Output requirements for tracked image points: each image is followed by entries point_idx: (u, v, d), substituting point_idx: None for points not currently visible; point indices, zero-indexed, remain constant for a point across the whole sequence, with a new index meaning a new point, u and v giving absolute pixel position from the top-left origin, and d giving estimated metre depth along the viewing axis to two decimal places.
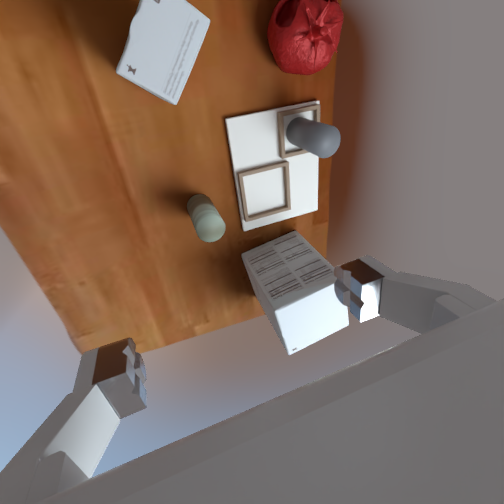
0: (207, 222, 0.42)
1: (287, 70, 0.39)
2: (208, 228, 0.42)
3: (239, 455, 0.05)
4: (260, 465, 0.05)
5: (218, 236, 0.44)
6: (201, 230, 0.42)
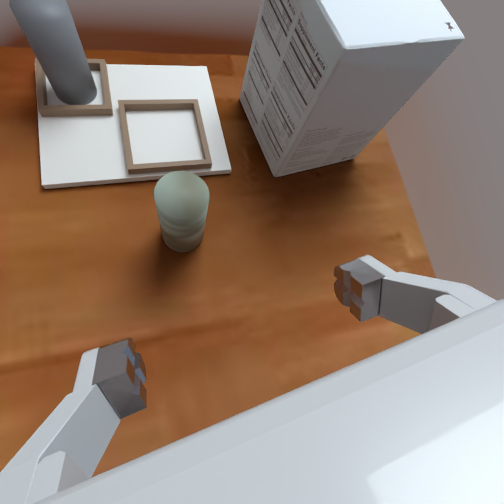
0: (167, 199, 0.23)
1: None
2: (179, 198, 0.23)
3: (239, 455, 0.05)
4: (260, 465, 0.05)
5: (199, 183, 0.24)
6: (182, 210, 0.23)
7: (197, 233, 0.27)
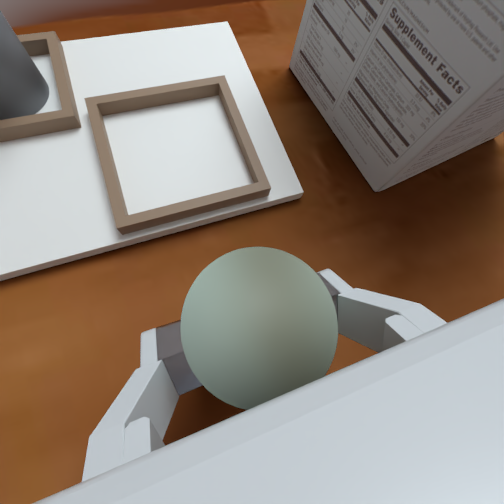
0: (221, 349, 0.08)
1: None
2: (257, 336, 0.08)
3: (239, 455, 0.05)
4: (260, 465, 0.05)
5: (301, 276, 0.08)
6: (272, 378, 0.07)
7: None
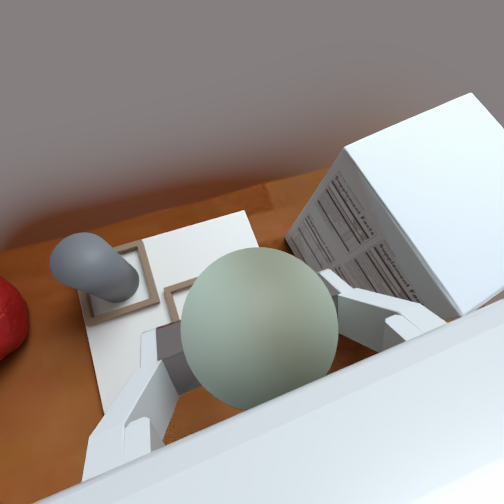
0: (221, 349, 0.07)
1: (7, 340, 0.25)
2: (257, 336, 0.08)
3: (239, 455, 0.05)
4: (260, 465, 0.05)
5: (301, 276, 0.08)
6: (272, 379, 0.07)
7: None
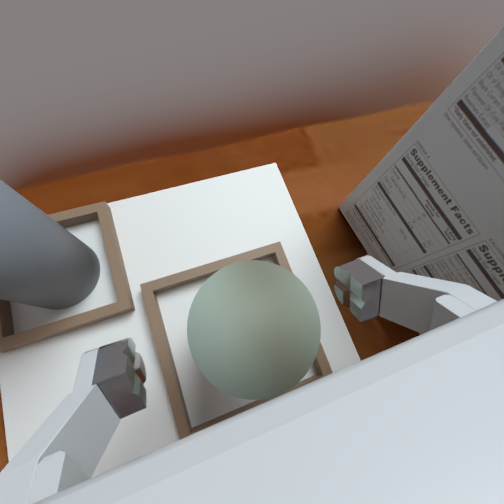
0: (221, 348, 0.09)
1: None
2: (252, 337, 0.09)
3: (239, 455, 0.05)
4: (260, 465, 0.05)
5: (290, 285, 0.10)
6: (264, 372, 0.09)
7: None
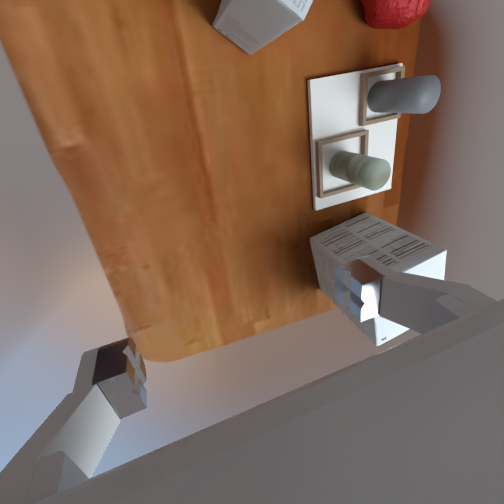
0: (376, 166, 0.39)
1: (381, 21, 0.37)
2: (376, 173, 0.40)
3: (239, 455, 0.05)
4: (260, 465, 0.05)
5: (381, 184, 0.41)
6: (369, 175, 0.40)
7: (347, 179, 0.44)
